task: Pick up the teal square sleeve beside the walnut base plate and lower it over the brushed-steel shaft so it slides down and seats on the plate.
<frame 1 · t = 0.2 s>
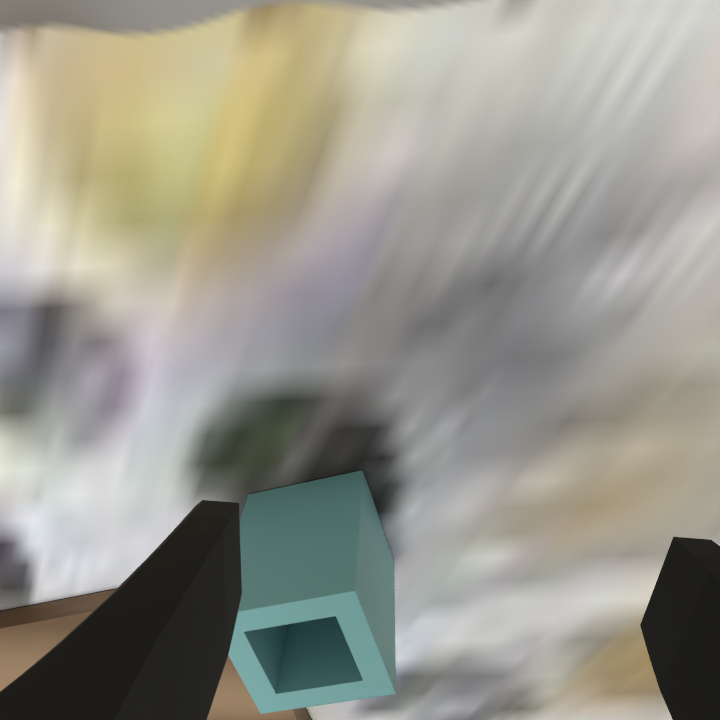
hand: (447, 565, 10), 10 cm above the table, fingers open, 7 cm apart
shaft base: (139, 719, 28), on the table
teal square sleeve: (323, 528, 22), on the table
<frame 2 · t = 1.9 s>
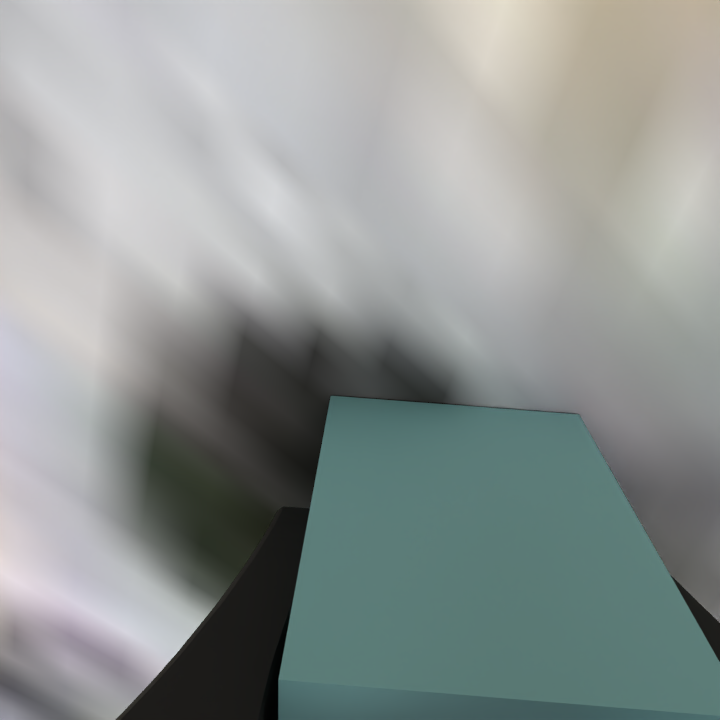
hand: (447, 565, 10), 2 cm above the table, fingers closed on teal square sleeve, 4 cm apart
teal square sleeve: (439, 503, 11), on the table, touching gripper
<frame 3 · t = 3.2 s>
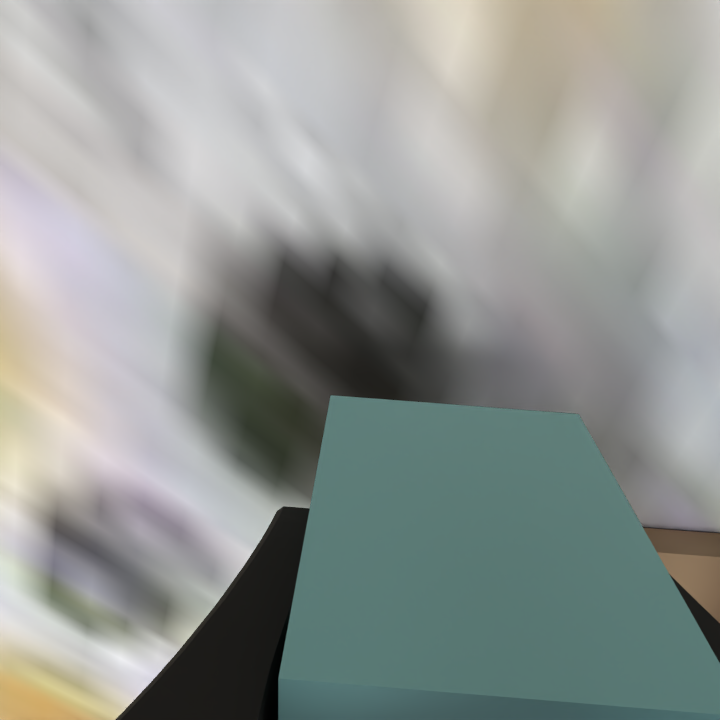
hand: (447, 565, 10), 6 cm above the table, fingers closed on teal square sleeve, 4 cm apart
shaft base: (643, 710, 21), on the table
teal square sleeve: (439, 503, 11), point 5 cm above the table, touching gripper
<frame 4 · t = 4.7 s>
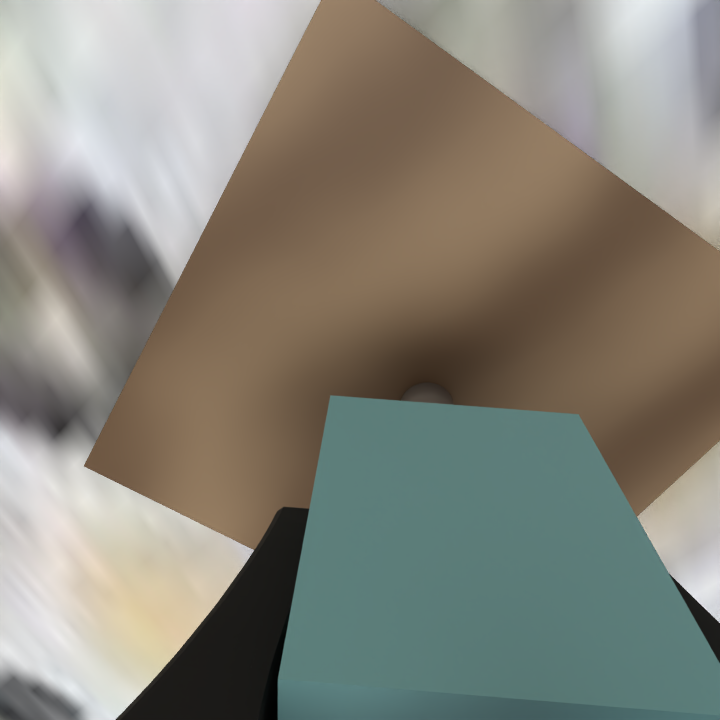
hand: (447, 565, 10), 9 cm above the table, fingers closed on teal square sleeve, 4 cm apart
shaft base: (424, 390, 19), on the table
teal square sleeve: (439, 503, 11), point 7 cm above the table, touching gripper
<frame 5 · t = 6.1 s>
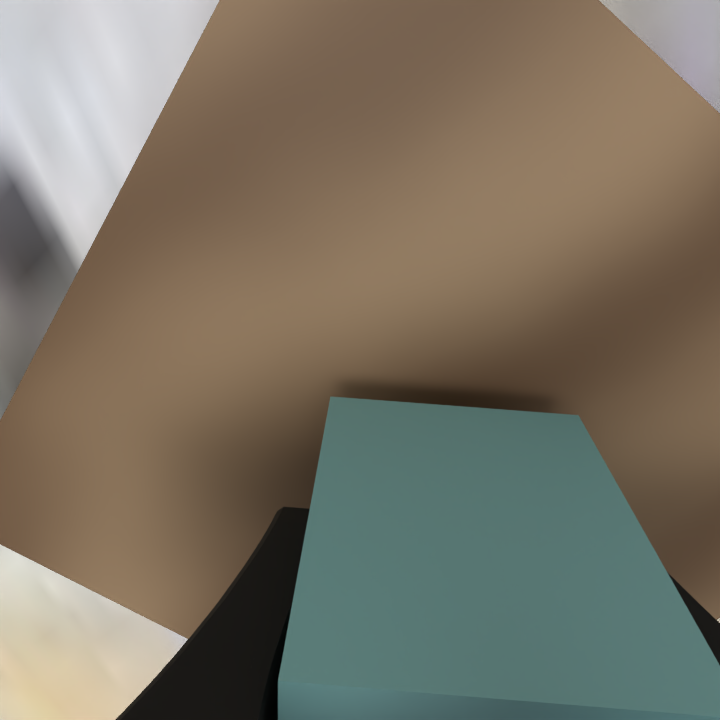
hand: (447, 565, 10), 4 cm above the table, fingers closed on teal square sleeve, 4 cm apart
shaft base: (432, 440, 13), on the table
teal square sleeve: (439, 504, 11), point 2 cm above the table, touching gripper
when the fingers open (4 cm above the table, at t = 7.3 s): teal square sleeve stays where it is, resting on shaft base.
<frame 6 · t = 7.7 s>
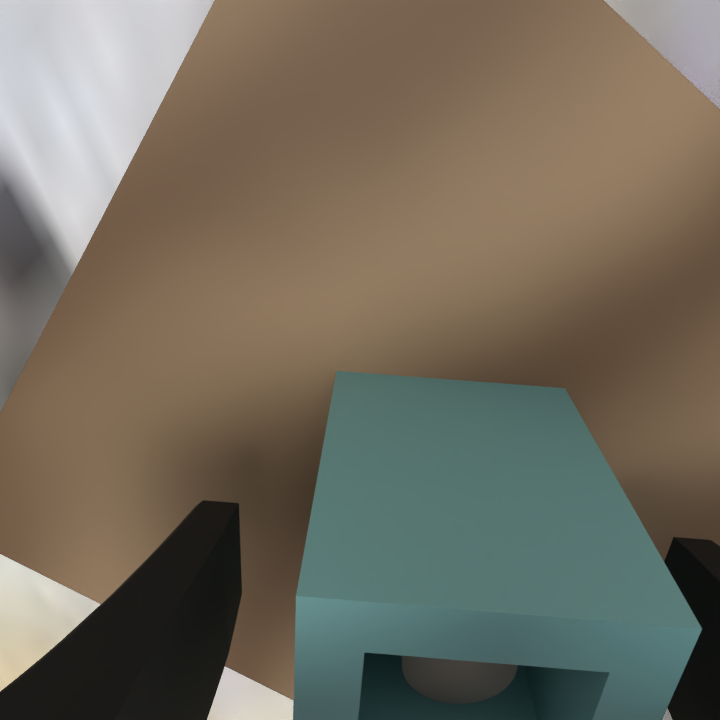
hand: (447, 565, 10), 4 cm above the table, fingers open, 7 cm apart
shaft base: (432, 445, 13), on the table
teal square sleeve: (436, 473, 12), point 1 cm above the table, touching shaft base
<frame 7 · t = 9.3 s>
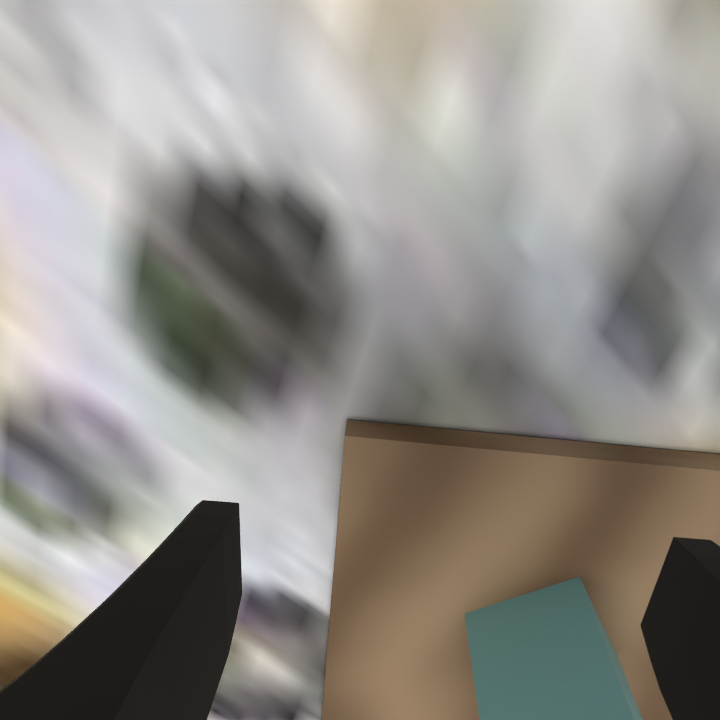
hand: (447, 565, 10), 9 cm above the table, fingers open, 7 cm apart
shaft base: (535, 612, 23), on the table
teal square sleeve: (541, 634, 22), point 1 cm above the table, touching shaft base
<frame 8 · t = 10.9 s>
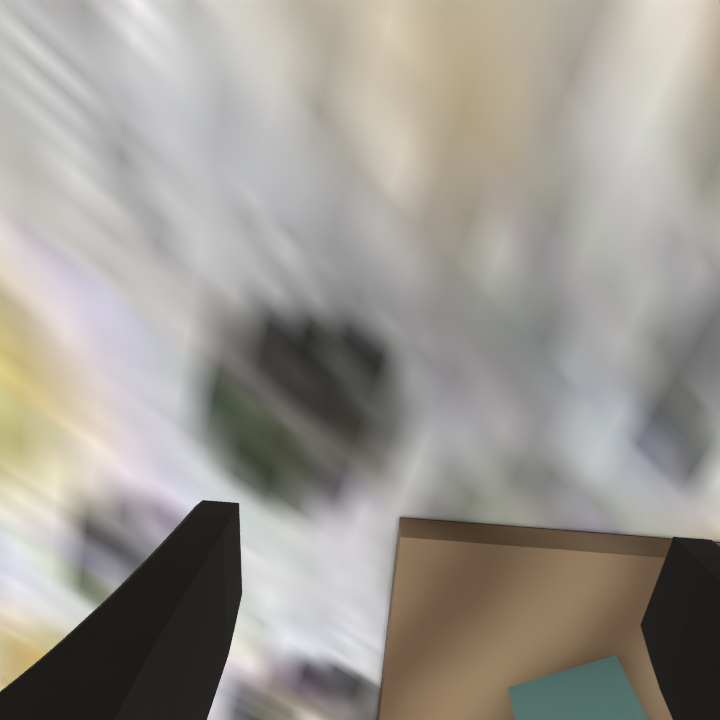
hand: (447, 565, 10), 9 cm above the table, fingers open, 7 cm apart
shaft base: (573, 682, 25), on the table
teal square sleeve: (580, 705, 24), point 1 cm above the table, touching shaft base
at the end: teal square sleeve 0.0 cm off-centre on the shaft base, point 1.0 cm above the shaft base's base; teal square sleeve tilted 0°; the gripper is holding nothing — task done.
